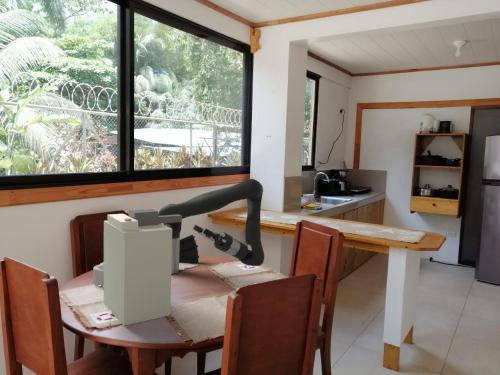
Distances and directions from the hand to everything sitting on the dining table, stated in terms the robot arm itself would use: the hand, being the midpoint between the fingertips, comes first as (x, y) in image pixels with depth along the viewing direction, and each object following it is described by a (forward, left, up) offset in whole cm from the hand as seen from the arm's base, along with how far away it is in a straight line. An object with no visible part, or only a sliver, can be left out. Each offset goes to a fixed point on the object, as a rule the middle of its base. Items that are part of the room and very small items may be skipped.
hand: (198, 228), depth 160 cm
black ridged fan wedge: (-45, +17, -29) cm, 56 cm away
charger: (0, -18, +4) cm, 19 cm away
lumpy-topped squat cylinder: (-33, -27, -29) cm, 51 cm away
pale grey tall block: (0, -26, -28) cm, 38 cm away
